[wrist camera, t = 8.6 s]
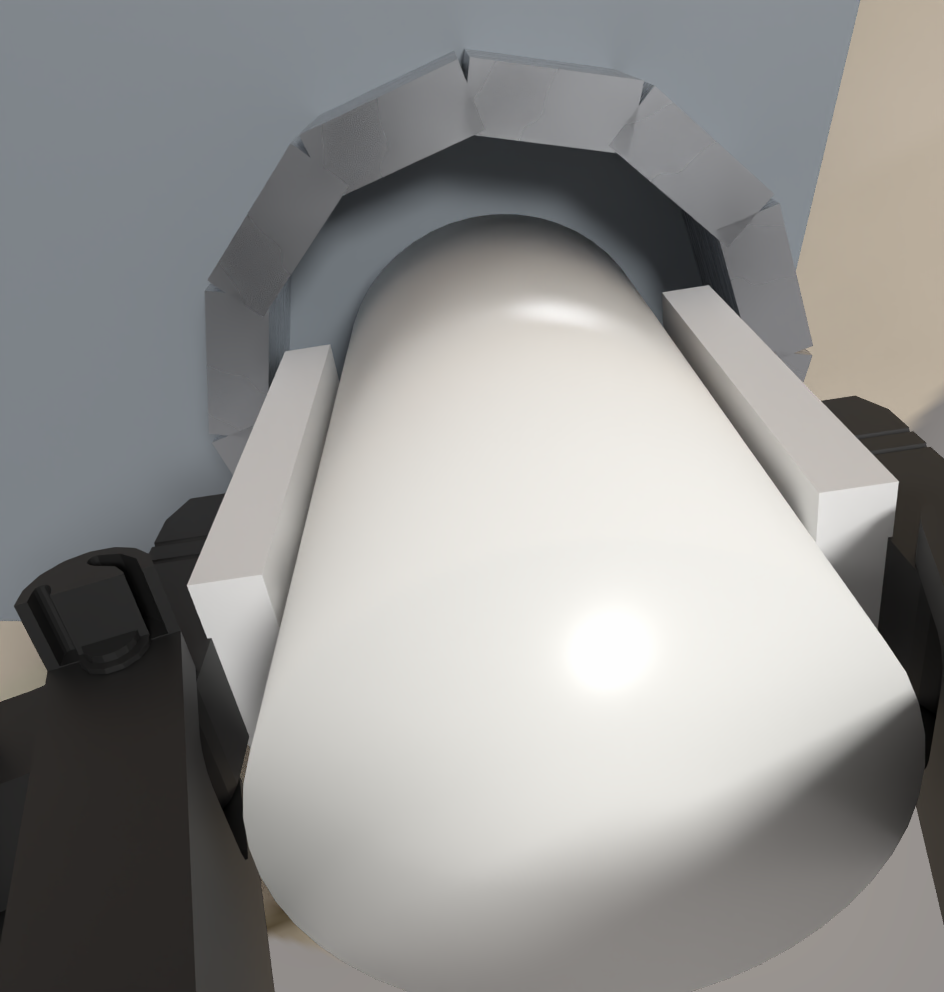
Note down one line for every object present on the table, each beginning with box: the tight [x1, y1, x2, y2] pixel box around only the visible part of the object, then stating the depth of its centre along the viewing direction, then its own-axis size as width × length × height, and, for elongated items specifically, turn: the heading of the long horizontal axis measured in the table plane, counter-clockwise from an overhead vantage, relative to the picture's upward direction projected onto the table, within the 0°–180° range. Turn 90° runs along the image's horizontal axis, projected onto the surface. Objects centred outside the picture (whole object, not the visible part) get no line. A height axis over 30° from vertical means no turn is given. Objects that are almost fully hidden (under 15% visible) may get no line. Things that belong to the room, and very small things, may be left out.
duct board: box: [0, 0, 860, 621], centre depth 17 cm, size 20×14×1 cm
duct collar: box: [205, 49, 813, 474], centre depth 16 cm, size 10×10×2 cm
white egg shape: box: [243, 214, 925, 992], centre depth 11 cm, size 6×6×10 cm
